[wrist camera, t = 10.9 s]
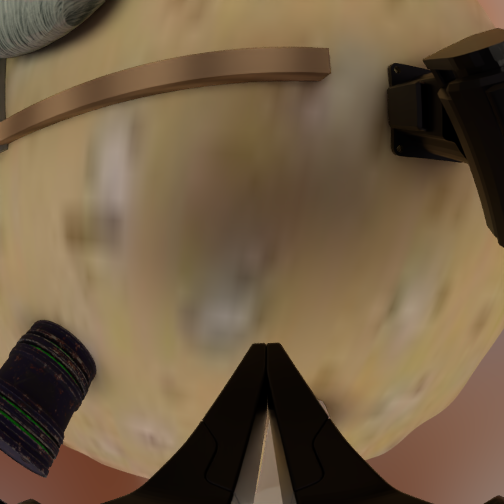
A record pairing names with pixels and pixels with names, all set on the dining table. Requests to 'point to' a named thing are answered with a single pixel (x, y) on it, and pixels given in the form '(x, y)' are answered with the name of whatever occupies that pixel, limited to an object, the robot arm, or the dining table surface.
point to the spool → (39, 22)
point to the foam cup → (270, 473)
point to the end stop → (2, 96)
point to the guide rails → (171, 82)
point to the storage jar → (41, 393)
